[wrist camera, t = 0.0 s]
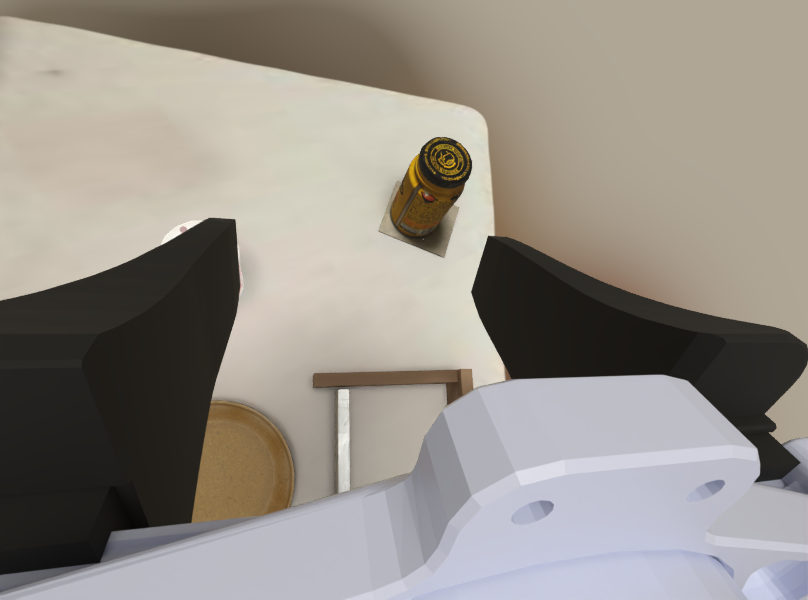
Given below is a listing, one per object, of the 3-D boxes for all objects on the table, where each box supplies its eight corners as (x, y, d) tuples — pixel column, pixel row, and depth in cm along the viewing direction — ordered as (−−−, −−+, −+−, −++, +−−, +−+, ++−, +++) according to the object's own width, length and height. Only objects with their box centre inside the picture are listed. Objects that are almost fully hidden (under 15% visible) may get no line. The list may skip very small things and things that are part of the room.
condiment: (396, 181, 50) (425, 116, 38) (458, 208, 51) (504, 152, 40) (378, 231, 47) (402, 178, 36) (443, 258, 49) (486, 214, 37)
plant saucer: (218, 609, 35) (212, 625, 33) (79, 508, 34) (62, 516, 32) (325, 460, 40) (327, 463, 38) (206, 369, 39) (200, 367, 37)
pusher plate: (345, 561, 38) (350, 578, 34) (334, 563, 38) (338, 580, 34) (344, 390, 42) (349, 389, 38) (334, 390, 42) (338, 389, 38)
